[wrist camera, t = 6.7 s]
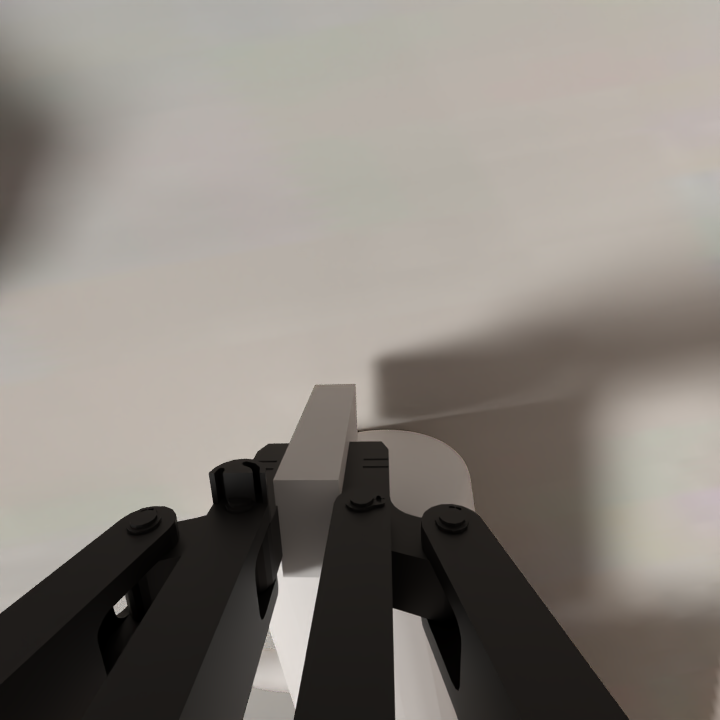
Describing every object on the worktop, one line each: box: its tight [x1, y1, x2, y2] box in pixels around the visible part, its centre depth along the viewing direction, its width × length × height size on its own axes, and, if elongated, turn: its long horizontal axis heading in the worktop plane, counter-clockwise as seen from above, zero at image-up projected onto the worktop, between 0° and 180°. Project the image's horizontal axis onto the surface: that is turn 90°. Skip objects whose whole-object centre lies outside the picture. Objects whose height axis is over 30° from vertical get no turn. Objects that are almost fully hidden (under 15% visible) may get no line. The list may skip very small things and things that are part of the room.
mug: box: [252, 430, 475, 720], centre depth 17 cm, size 12×10×8 cm
